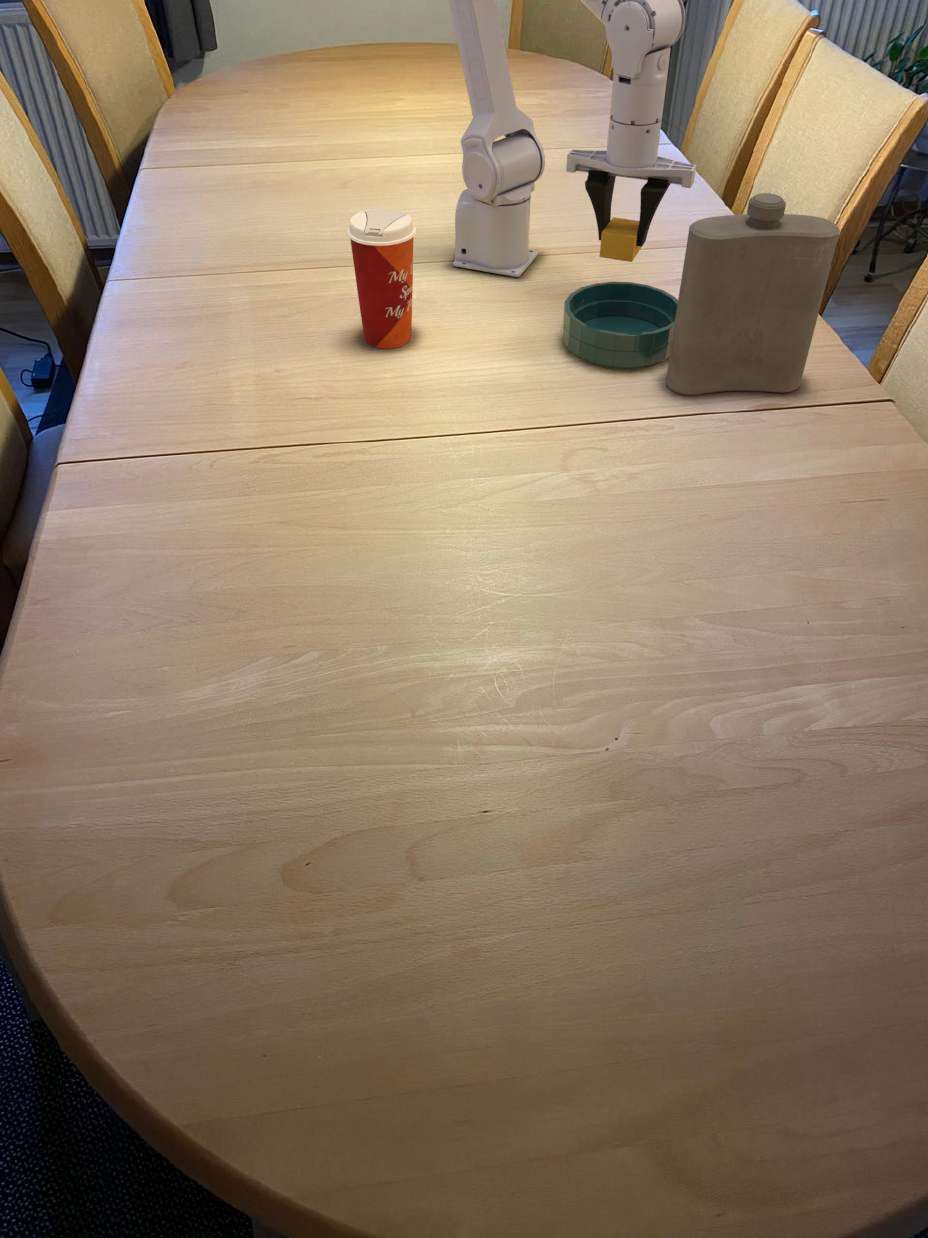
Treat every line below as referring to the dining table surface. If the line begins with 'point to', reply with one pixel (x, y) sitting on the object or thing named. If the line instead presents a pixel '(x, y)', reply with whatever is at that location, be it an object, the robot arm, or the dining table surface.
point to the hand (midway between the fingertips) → (622, 240)
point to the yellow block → (620, 240)
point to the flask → (749, 299)
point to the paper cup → (384, 274)
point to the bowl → (619, 324)
